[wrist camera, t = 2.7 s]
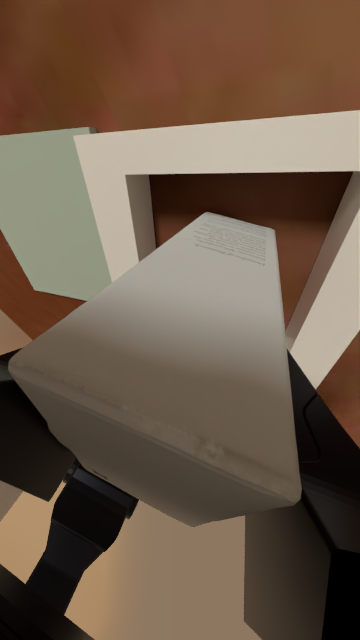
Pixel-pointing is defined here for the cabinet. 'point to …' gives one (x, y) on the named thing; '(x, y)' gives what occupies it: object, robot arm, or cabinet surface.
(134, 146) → the cream rectangular frame
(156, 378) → the skincare box
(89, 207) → the mat
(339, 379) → the cabinet surface
